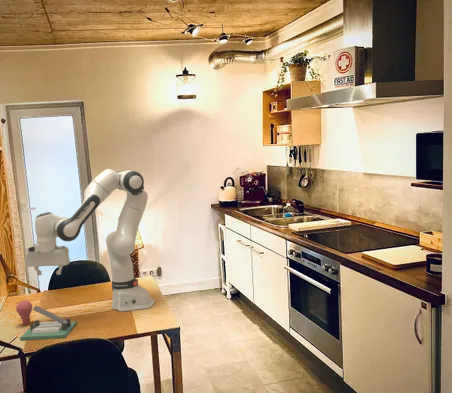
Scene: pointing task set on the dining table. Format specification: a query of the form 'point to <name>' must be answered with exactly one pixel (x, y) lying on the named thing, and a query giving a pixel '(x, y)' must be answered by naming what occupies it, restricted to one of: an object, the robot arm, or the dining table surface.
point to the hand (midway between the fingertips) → (49, 274)
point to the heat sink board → (48, 330)
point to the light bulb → (24, 311)
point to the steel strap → (49, 314)
